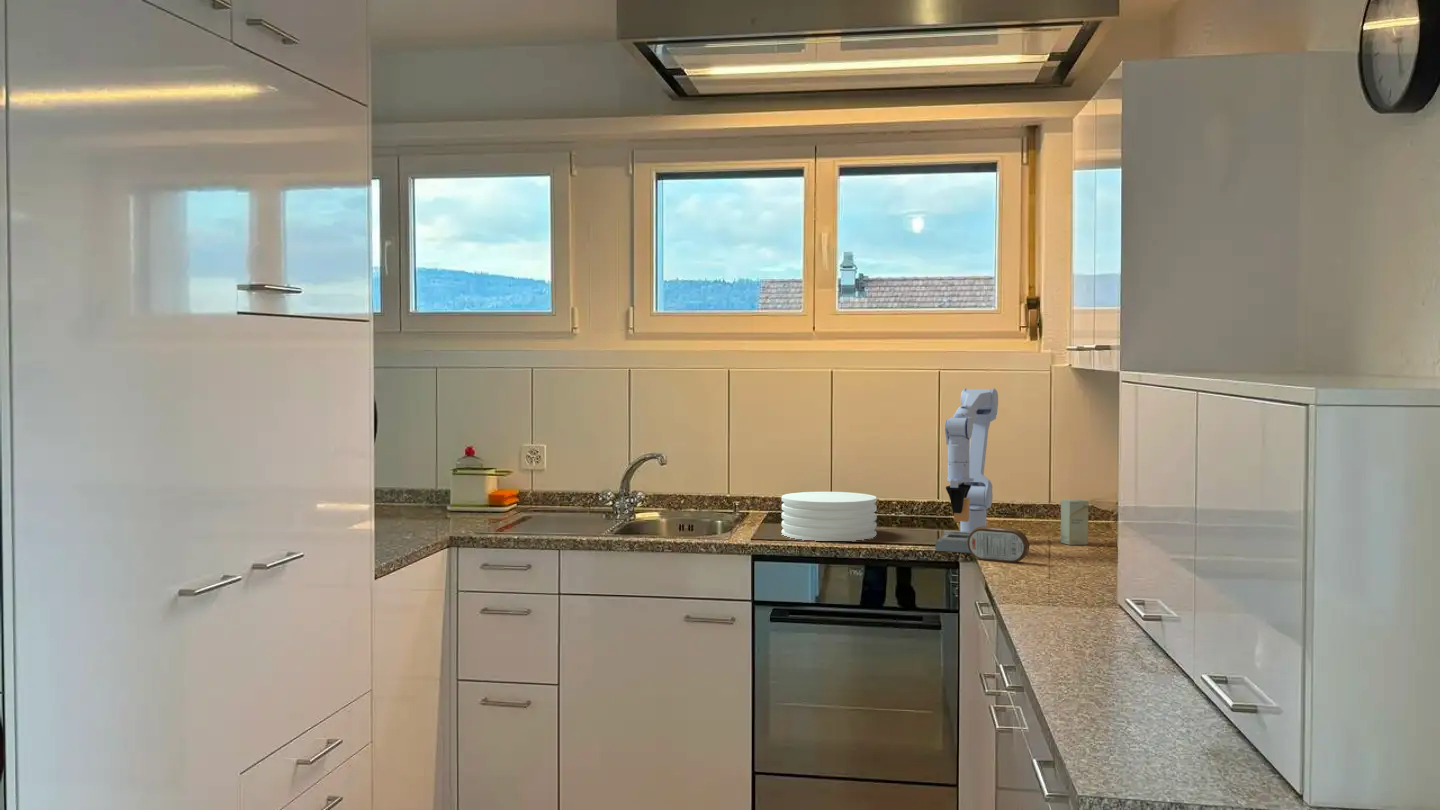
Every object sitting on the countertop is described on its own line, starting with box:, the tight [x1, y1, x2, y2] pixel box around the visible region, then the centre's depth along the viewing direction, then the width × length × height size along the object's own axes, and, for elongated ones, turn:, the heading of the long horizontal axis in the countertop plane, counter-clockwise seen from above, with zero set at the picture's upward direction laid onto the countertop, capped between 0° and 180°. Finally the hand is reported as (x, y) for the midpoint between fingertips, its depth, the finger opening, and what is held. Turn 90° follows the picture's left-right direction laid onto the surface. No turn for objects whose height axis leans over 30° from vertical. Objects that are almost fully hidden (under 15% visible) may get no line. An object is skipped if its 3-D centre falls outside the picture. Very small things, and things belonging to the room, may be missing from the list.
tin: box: [967, 525, 1030, 564], centre depth 242 cm, size 15×3×8 cm, turn 59°
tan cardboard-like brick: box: [953, 498, 970, 522], centre depth 260 cm, size 4×4×6 cm
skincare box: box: [1060, 499, 1089, 546], centre depth 268 cm, size 6×4×12 cm
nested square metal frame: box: [935, 529, 971, 554], centre depth 260 cm, size 12×10×4 cm
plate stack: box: [780, 491, 878, 542], centre depth 286 cm, size 28×28×12 cm
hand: (958, 512), depth 260 cm, fingers closed on tan cardboard-like brick, 3 cm apart
